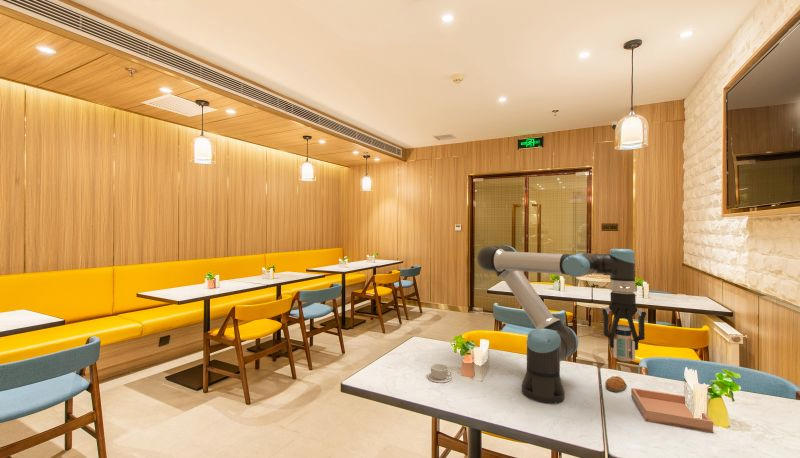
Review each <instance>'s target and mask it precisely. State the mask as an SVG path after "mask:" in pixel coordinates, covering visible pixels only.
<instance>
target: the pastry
mask: <svg viewBox="0 0 800 458" xmlns="http://www.w3.org/2000/svg"><path fill="white" fill-rule="evenodd" d="M627 387H628V384H627V383H626V382H625V380H624V378H622V377H621V376H619V375H616V376H613V375H612V376H610V377H608V378H607V379H606V380H605V389H606V390H608V391H612V392H615V393H617V392H623V391H625V389H627Z"/></svg>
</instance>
